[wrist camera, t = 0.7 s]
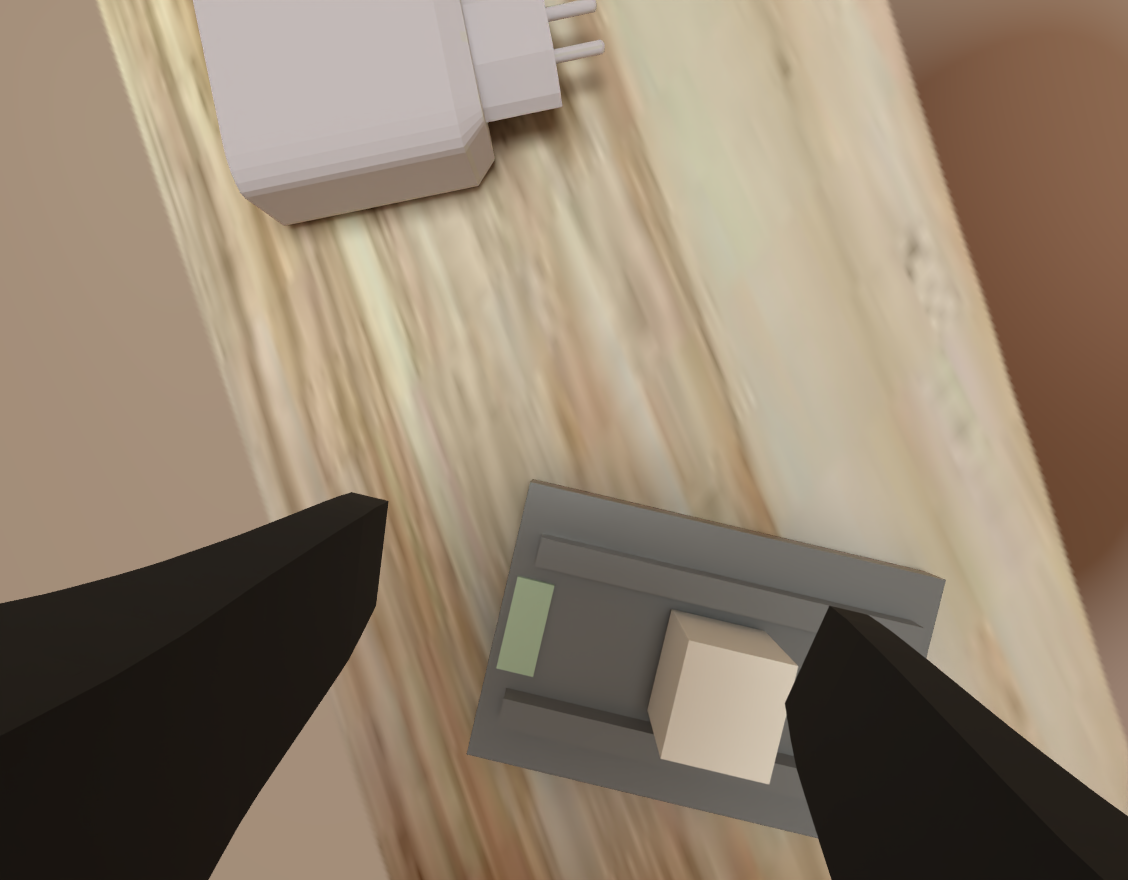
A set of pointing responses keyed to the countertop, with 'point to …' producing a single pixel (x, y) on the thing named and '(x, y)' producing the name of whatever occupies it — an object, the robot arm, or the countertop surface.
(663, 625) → the switch track
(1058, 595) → the countertop surface
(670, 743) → the slider knob
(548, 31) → the charger
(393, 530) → the countertop surface
